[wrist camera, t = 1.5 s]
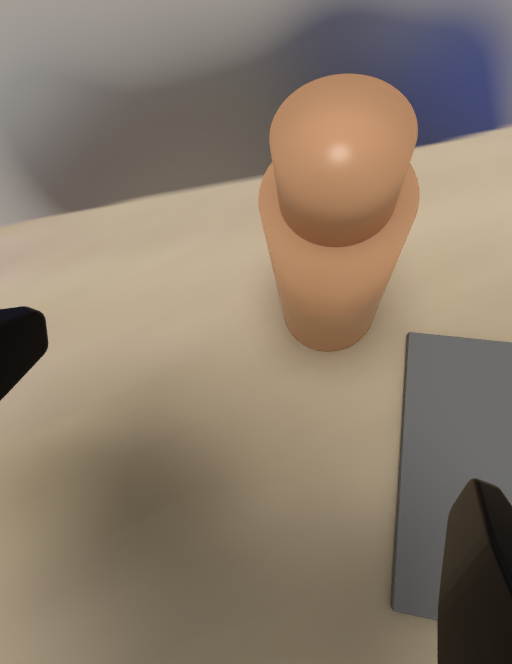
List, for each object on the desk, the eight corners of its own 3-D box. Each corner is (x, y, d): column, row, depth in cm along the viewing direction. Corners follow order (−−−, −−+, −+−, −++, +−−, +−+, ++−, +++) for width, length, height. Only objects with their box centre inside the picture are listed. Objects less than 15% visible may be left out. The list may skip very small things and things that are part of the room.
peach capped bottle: (369, 356, 21) (441, 224, 9) (278, 346, 21) (230, 212, 10) (376, 271, 22) (448, 53, 10) (289, 264, 23) (259, 55, 11)
